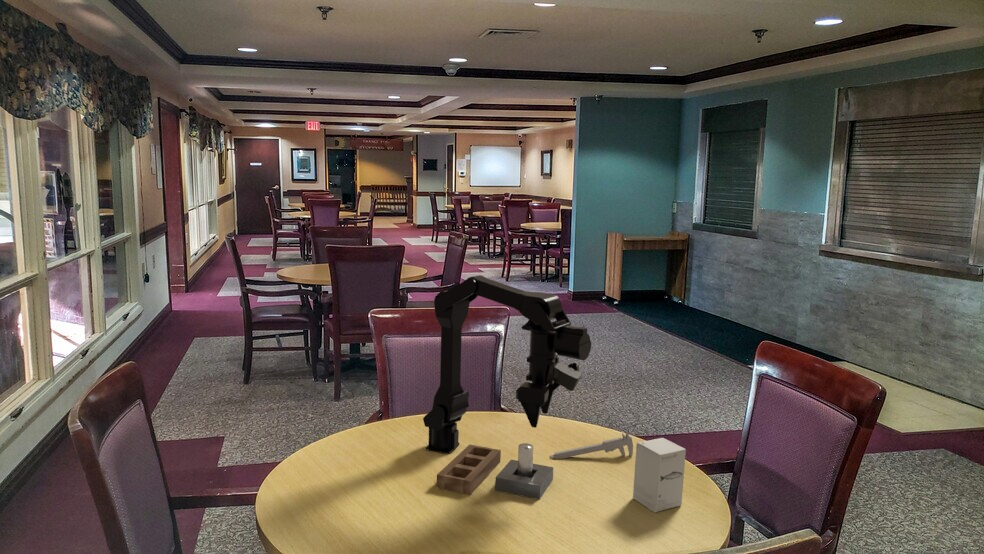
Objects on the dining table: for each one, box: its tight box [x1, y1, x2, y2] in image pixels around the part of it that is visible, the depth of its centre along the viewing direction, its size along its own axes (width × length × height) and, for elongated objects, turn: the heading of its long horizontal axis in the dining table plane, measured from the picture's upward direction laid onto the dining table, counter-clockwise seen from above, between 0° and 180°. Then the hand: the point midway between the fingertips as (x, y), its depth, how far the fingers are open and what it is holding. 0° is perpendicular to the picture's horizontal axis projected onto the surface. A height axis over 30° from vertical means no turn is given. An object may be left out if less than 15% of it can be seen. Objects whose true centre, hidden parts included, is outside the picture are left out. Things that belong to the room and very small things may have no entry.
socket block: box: [494, 459, 554, 500], centre depth 150 cm, size 10×10×3 cm
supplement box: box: [632, 437, 687, 514], centre depth 143 cm, size 7×7×13 cm
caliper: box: [549, 431, 634, 460], centre depth 165 cm, size 20×1×6 cm, turn 97°
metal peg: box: [517, 442, 534, 478], centre depth 149 cm, size 3×3×9 cm
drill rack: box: [436, 443, 502, 496], centre depth 154 cm, size 8×18×3 cm, turn 159°
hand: (539, 420), depth 152 cm, fingers open, 9 cm apart
